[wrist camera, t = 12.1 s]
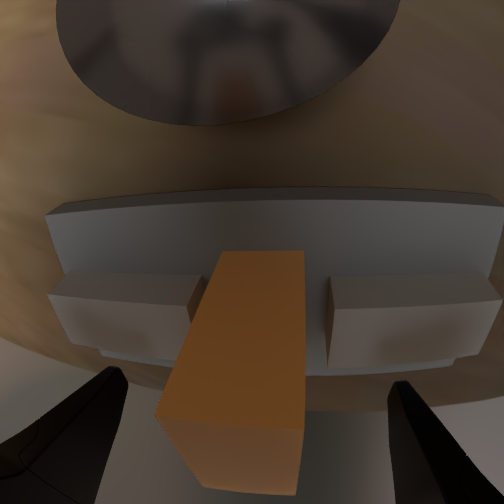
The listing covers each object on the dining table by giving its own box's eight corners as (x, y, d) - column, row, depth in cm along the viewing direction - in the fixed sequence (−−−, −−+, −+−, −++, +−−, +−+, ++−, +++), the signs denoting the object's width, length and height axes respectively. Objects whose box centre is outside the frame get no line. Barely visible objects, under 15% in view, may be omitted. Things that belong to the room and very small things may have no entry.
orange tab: (304, 250, 11) (304, 429, 5) (302, 347, 13) (295, 495, 7) (222, 251, 12) (154, 414, 5) (236, 346, 14) (203, 486, 8)
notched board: (489, 194, 10) (534, 228, 7) (444, 346, 14) (462, 393, 11) (62, 203, 13) (17, 234, 10) (111, 339, 17) (87, 379, 14)
